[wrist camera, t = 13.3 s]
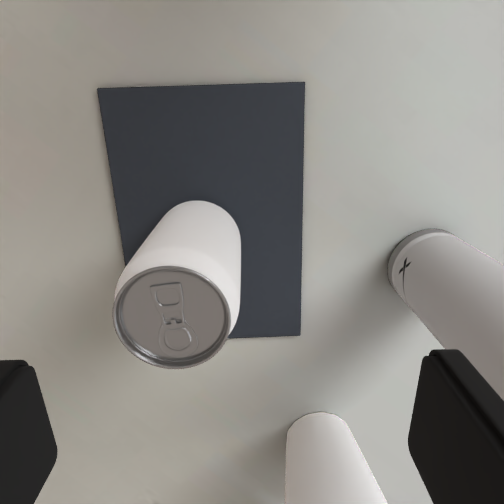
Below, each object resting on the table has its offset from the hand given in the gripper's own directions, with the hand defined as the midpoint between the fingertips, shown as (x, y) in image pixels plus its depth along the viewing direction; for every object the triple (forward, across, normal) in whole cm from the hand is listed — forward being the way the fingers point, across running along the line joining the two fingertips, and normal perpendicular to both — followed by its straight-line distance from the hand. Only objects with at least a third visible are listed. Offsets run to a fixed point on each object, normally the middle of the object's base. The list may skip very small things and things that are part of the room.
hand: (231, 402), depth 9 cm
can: (+20, +3, +3) cm, 21 cm away
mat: (+21, +2, +2) cm, 21 cm away
